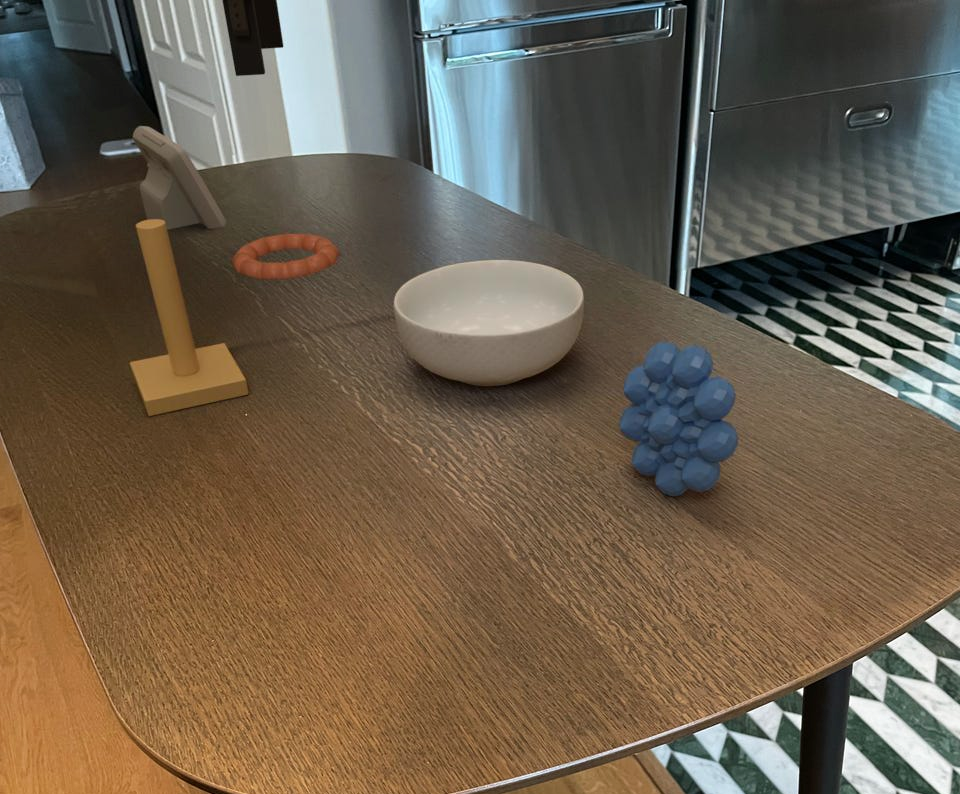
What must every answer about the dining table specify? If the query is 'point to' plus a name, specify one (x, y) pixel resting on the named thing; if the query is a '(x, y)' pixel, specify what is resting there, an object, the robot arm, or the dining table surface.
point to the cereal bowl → (489, 320)
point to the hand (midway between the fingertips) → (261, 60)
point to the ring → (319, 261)
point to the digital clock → (174, 184)
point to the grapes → (678, 418)
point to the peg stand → (179, 341)
